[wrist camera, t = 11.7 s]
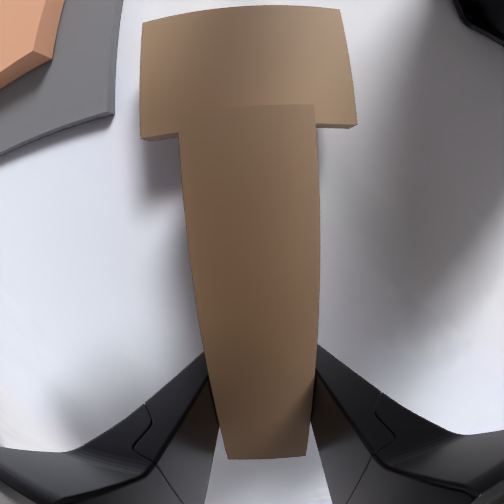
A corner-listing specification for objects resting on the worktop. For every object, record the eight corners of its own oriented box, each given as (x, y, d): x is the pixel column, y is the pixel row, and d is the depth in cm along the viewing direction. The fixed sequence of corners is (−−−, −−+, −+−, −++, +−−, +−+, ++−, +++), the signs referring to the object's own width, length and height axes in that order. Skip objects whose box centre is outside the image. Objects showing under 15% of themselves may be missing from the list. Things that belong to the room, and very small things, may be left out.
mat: (144, -82, 5) (141, -88, 4) (114, 113, 9) (107, 111, 8) (-4, -3, 5) (-8, -5, 5) (-36, 175, 9) (-43, 176, 9)
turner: (333, 20, 7) (360, -28, 4) (336, 393, 10) (353, 447, 7) (150, 32, 7) (114, -10, 4) (192, 401, 10) (179, 456, 8)
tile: (54, 59, 7) (87, -57, 5) (33, 50, 6) (76, -69, 3) (-19, 104, 8) (12, -12, 5) (-39, 103, 6) (-1, -19, 4)
